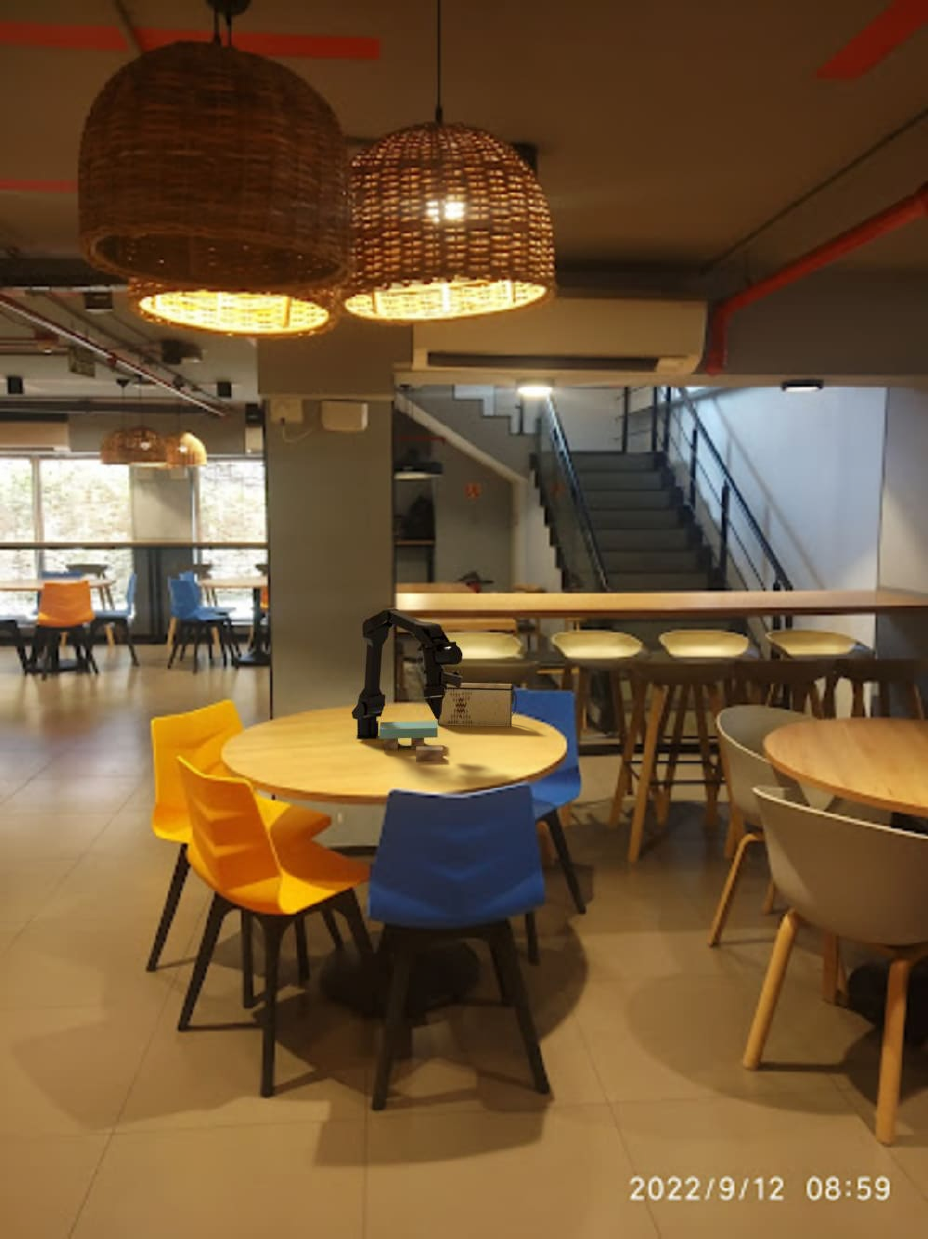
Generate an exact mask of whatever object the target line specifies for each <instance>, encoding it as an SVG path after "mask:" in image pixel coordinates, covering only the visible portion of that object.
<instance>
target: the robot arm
mask: <svg viewBox="0 0 928 1239" xmlns="http://www.w3.org/2000/svg"><path fill="white" fill-rule="evenodd" d="M394 626H395V627H398V628H400V629H401V630H404V631H406V632H408V633H410V634H411V635H412V636H413V639H415V640H416V641H417V642H418V643H420V646H418V648H417V650H416V651H417V652H419V653H420V652H421V654H422V661H423V663H422V664H423V675H424V681H425V682H424V683H425V684H424V686H425V688H424V689H423V698H424V700H425V702H426V703H427V705H428V707H429V708H430V710H431V713H432V715H433V716H434V718H435V719H436V720H437V719H440V715H441V713H442V701H443V698H444V697H445V694H446V692H447V691H445V690H447V689H448V688H447V684H449V685H453V686H455V687H458V688H460V687H461V683H463V679H464V678H463V677H464V676H462V675H460V672H459V671H458V670H453V671H452V673H450V672H446V671H445V668H444V666H454V665H459V664H460V663H461V662H462V661H463V657H464V655H463V651H462V649H461V648H460V646H458V645H457V641H450V639H449V638H448V636H447V635H446V633H445V631H444V630H443V628H442V626H441V625H440V624H439V623H437V622H431V621H421V620H419V619H418V618H415V617H413V616H412V615H408V614H407V613H405V612H402V611H400V610H399V609H398V608H396V607H392V608H391V607H390V608H385V609H382V610H381V612H379V613H377V614H375V615H374V616H371V617H370V618H367V619H365V620H364V621H363V623H362V627H361V628H362V638H363V640H364V641H365V644H366V656H365V657H366V659H365V668H364V669H365V671H364V687H363V689H361V692H360V694H359V696H358V700H357V704H356V706H355V707H354V708H353V709H352V710H351V717H352V719H353V720H356V724H357V730H356V732H357V734H356V738H357V739H376V738H378V736H379V728H380V723H379V722H380V721H379V720H377V719H378V718H379V717H380V718H381V717H382V715H383V712H384V708H385V707H386V694H385V693H383V692H382V690H381V688H380V687H381V674H382V658H383V657H382V656H383V646H384V644H385V642H386V641H387V640H388V638H389V634H390V629H392V628H393V627H394Z"/></svg>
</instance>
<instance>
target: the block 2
mask: <svg viewBox="0 0 928 1239" xmlns="http://www.w3.org/2000/svg"><path fill="white" fill-rule="evenodd" d="M410 740H411V741H410V742H411V744H410V747H411V748H410V749H411V750H413V751H414V750H415V751H416V747H425V738H410Z"/></svg>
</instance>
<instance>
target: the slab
mask: <svg viewBox="0 0 928 1239" xmlns="http://www.w3.org/2000/svg"><path fill="white" fill-rule="evenodd" d="M438 734H439V732H438V722H437V720H426V721H425V720H421V721H419V720H418V721H380V723H379V734H378V736H379V739H380V740H385V739H390V738H398V739H411V738H424V739H425V738H428V739H429V738H430V739H431V738H438Z"/></svg>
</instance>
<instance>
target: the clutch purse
mask: <svg viewBox="0 0 928 1239" xmlns="http://www.w3.org/2000/svg"><path fill="white" fill-rule="evenodd" d="M447 688H448V689H447V690H445V691H447V692H446V694H445V697H444V698H443V701H442V713H441V715H440V719H436V721H437V726H438V725H454V726H455V725H458V726H459V725H461V726H495V727H498V726H499V727H505V726H506V727H512V725H513V724H512V723H513V720H512V719H513V716H514V715H515V712H516V709H517V706H518V705H517V704H518V701H517V700H518V699H517V691H516V688H515V685H514V683H483V682H482V683H479V682H478V683H475V682H474V683H473V682H472V683H471V682H470V683H469V682H462V683H461V687H460V688H458V687H455V686H453V685H449V684H447ZM514 699H515V700H514ZM514 701H515V702H514ZM514 703H515V706H514V710H513V704H514Z"/></svg>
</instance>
